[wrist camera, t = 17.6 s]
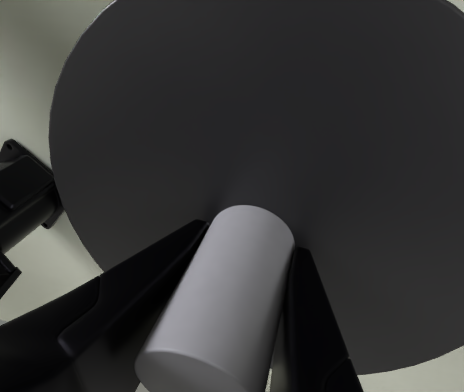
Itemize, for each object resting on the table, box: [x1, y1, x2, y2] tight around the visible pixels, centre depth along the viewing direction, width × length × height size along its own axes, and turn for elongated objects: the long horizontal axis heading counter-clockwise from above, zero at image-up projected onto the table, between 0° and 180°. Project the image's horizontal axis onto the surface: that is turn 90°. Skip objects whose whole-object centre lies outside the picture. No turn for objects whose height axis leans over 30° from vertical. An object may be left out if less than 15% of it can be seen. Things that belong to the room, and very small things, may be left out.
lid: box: [49, 0, 464, 392], centre depth 8 cm, size 14×14×6 cm
